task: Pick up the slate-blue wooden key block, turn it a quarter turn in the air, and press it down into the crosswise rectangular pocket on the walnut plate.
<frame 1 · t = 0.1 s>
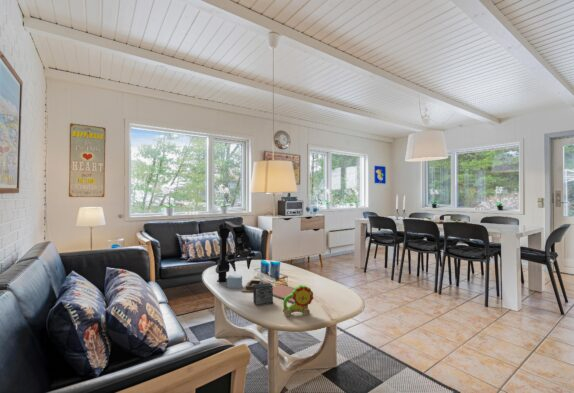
hand: (242, 270, 183), 15 cm above the table, tool pointing down, fingers open, 9 cm apart
notebook: (288, 295, 183), on the table
key block: (234, 286, 198), on the table
keyed nest: (254, 287, 195), on the table
toy lion: (298, 314, 153), on the table
small box: (263, 303, 169), on the table
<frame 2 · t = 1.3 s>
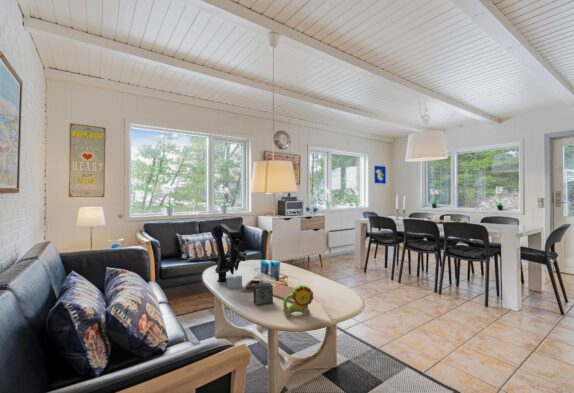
hand: (234, 272, 198), 10 cm above the table, tool pointing down, fingers open, 9 cm apart
nothing on the table moved.
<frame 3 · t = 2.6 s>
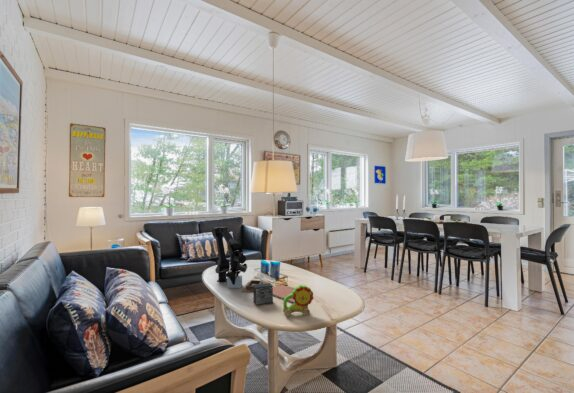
hand: (234, 283, 198), 2 cm above the table, tool pointing down, fingers closed on key block, 4 cm apart
key block: (234, 286, 198), on the table, touching gripper
everything else where it was.
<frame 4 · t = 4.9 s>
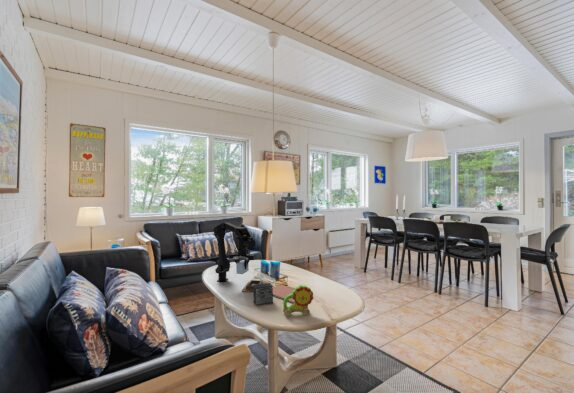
hand: (242, 269, 197), 12 cm above the table, tool pointing down, fingers closed on key block, 4 cm apart
key block: (242, 272, 197), point 10 cm above the table, touching gripper
everything else where it was.
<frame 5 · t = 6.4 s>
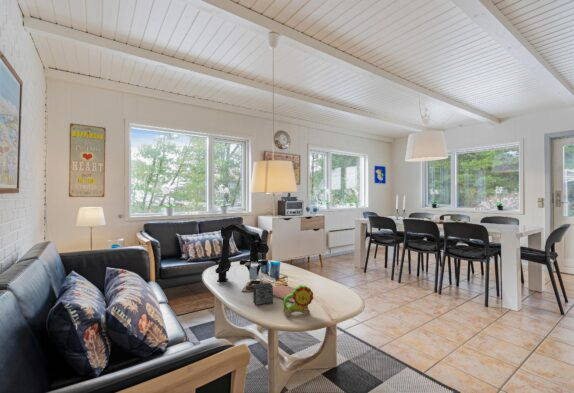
hand: (254, 274, 195), 9 cm above the table, tool pointing down, fingers closed on key block, 4 cm apart
key block: (254, 277, 195), point 7 cm above the table, touching gripper
everything else where it was.
when the fingers open (4 cm above the table, at t = 7.5 s): key block stays where it is, resting on keyed nest.
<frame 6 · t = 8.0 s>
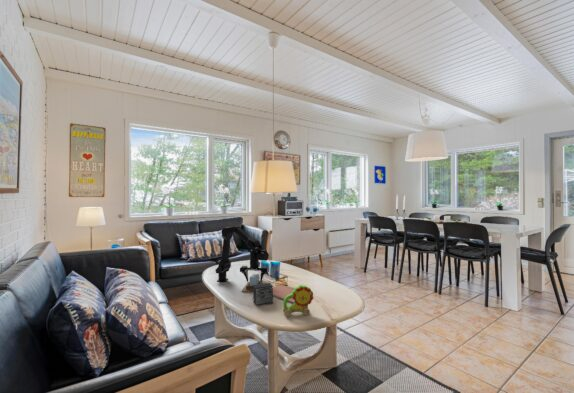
hand: (254, 281, 195), 4 cm above the table, tool pointing down, fingers open, 9 cm apart
key block: (254, 286, 195), point 1 cm above the table, touching keyed nest
everything else where it was.
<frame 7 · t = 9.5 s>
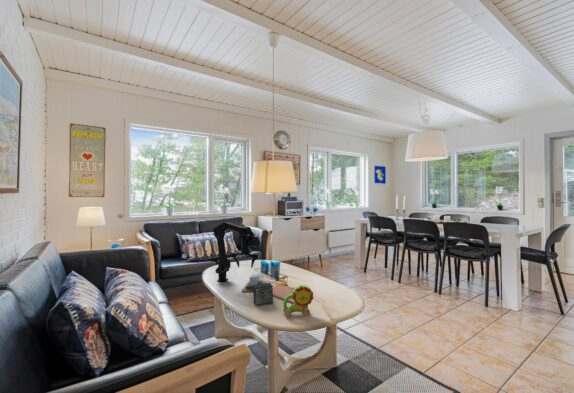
hand: (245, 267, 200), 12 cm above the table, tool pointing down, fingers open, 9 cm apart
nothing on the table moved.
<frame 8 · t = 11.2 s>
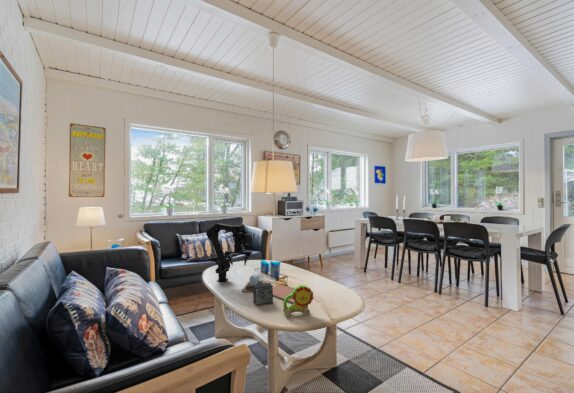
hand: (238, 265, 204), 13 cm above the table, tool pointing down, fingers open, 9 cm apart
nothing on the table moved.
at the end: key block 0.0 cm off-centre on the keyed nest, point 1.0 cm above the keyed nest's base; key block tilted 0°; the gripper is holding nothing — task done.
